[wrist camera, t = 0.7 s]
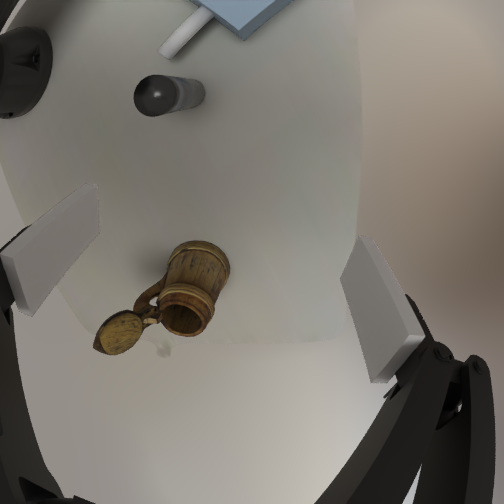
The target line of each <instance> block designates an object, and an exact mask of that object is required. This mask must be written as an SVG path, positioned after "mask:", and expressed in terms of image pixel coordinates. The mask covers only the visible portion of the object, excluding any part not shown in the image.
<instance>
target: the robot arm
mask: <svg viewBox="0 0 504 504" xmlns="http://www.w3.org/2000/svg"><path fill="white" fill-rule="evenodd" d="M18 1H19V0H0V32H1V30H2V28H3V26H4V25H5V23H6V21H7V19H8V18H9V16H10V14H11V13H12V11H13V9H14V8H15V6H16V4H17V3H18ZM51 66H52V47H51V43H50V40H49V38H48V36H47V34H46V33H45V32H44V31H43V30H41V29H40V28H36V27H20V28H17V29H14V30H12V31H9V32H6V33H4V34H2V35H0V118H2V119H11V118H15V117H18V116H21V115H24V114H26V113H27V112H28V111H30V110H31V109H32V108H33V107H34V106H35V105H36V103H37V102H38V101H39V99H40V97H41V96H42V94H43V92H44V90H45V88H46V85H47V82H48V79H49V76H50V71H51ZM99 233H100V228H99V209H98V185H94V184H87V183H85V184H84V185H83V186H81V187H80V188H78V189H77V190H76V191H74V192H73V193H71V194H70V195H69V196H67V197H66V198H65V199H63V200H62V201H61V202H59V203H58V204H57V205H56V206H54V207H53V208H52V209H50V210H49V211H48V212H47V213H45V214H44V215H43V216H42V217H40V218H39V219H38V220H37V221H36V222H34V223H33V224H31V225H29V226H27V227H25V228H24V229H22V230H21V231H20V232H19V233H18V234H17V235H16V236H15V237H13V238H12V239H11V241H9V242H8V243H7V244H5V245H4V246H3V247H2V248H1V249H0V504H95V503H92V502H90V501H87V500H85V499H82V498H80V497H78V496H75V495H74V497H73V499H72V498H64V496H63V494H62V492H61V490H60V487H59V486H58V484H57V482H56V481H55V479H54V477H53V476H52V475H51V473H50V472H49V471H48V469H47V467H46V465H45V463H44V460H43V458H42V455H41V452H40V449H39V446H38V443H37V440H36V437H35V434H34V430H33V427H32V424H31V421H30V416H29V413H28V409H27V405H26V400H25V396H24V391H23V387H22V381H21V376H20V370H19V365H18V358H17V350H16V342H15V333H14V322H13V312H12V309H11V305H12V303H13V302H14V301H15V302H16V305H17V307H18V310H19V312H21V313H24V314H26V315H28V316H31V317H33V316H34V314H35V313H36V311H37V310H38V309H39V307H40V306H41V304H42V303H43V302H44V300H45V299H46V297H47V296H48V295H49V294H50V292H51V291H52V290H53V288H54V287H55V286H56V285H57V283H58V282H59V281H60V279H61V278H62V277H63V276H64V274H65V273H66V272H67V271H68V269H69V268H70V267H71V266H72V265H73V263H74V262H75V261H76V260H77V259H78V257H79V256H80V255H81V254H82V253H83V252H84V250H85V249H86V248H87V247H88V246H89V245H90V243H91V242H92V241H93V240H94V239H95V238H96V237H97V236H98V234H99ZM340 281H341V284H342V287H343V290H344V293H345V296H346V299H347V302H348V305H349V308H350V311H351V315H352V318H353V321H354V324H355V327H356V331H357V334H358V338H359V341H360V345H361V348H362V352H363V355H364V359H365V363H366V366H367V369H368V373H369V378H370V381H371V383H388V381H389V380H390V379H391V378H392V377H393V376H394V375H396V378H397V381H398V382H397V383H396V384H395V385H394V386H393V387H392V388H391V389H390V390H389V391H388V392H387V393H386V394H385V396H384V398H386V397H387V396H388V397H387V399H386V401H385V402H384V404H383V406H382V408H381V409H380V411H379V413H378V415H377V416H376V418H375V420H374V421H373V423H372V425H371V426H370V428H369V430H368V431H367V433H366V434H365V436H364V437H363V439H362V441H361V442H360V444H359V445H358V447H357V448H356V450H355V451H354V453H353V454H352V455H351V457H350V458H349V460H348V461H347V463H346V464H345V465H344V467H343V468H342V469H341V471H340V472H339V474H338V475H337V476H336V477H335V479H334V480H333V481H332V483H331V484H330V485H329V487H328V488H327V489H326V490H325V491H324V493H323V494H322V495H321V496H320V498H319V499H318V500H317V501H316V502H315V503H314V504H402V503H403V501H404V499H405V497H406V495H407V493H408V492H409V489H410V487H411V485H412V484H413V481H414V479H415V477H416V475H417V473H418V471H419V469H420V466H421V464H422V466H421V471H420V476H419V480H418V485H417V489H416V493H415V497H414V500H413V504H492V497H493V488H494V475H495V416H494V404H493V393H492V385H491V377H490V371H489V368H488V366H487V364H486V362H485V361H484V360H483V359H482V358H480V357H479V356H477V355H470V357H469V358H468V359H467V360H466V361H465V362H461V361H458V360H455V359H454V356H453V354H452V352H451V351H450V349H449V348H448V347H447V346H445V345H444V344H442V343H440V342H436V341H434V339H433V337H432V335H431V333H430V331H429V329H428V327H427V325H426V323H425V321H424V320H423V317H422V315H421V313H419V309H418V307H417V306H416V304H415V302H414V301H413V300H412V299H411V298H410V297H409V296H408V295H407V294H404V292H403V291H402V289H401V287H400V285H399V283H398V281H397V280H396V278H395V276H394V274H393V272H392V271H391V269H390V267H389V266H388V264H387V262H386V260H385V259H384V257H383V255H382V254H381V252H380V250H379V249H378V247H377V246H376V244H375V242H374V240H373V239H372V238H370V237H366V236H361V235H359V236H358V238H357V241H356V243H355V246H354V248H353V250H352V253H351V255H350V257H349V260H348V262H347V264H346V267H345V269H344V271H343V273H342V276H341V278H340ZM461 404H462V407H461V410H460V411H459V412H458V406H460V405H461Z"/></svg>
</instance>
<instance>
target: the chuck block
mask: <svg viewBox="0 0 504 504" xmlns="http://www.w3.org/2000/svg"><path fill="white" fill-rule="evenodd" d="M190 1H191V2H193V3H194V4H196V5H197V6H199V8H198V9H197V10H196V11H195V12H194V13H193V14H192V15H191V16H189V17H188V18H187V19H186V20H185V21H184V22H183V23H182V24H181V25H180V26H179V27H178V28H177V29H176V30H175V31H174V33H173V34H172V35H171V36H170V37H169V38H168V39H167V40H166V41H165V42H164V43H163V44H162V45H161V47H160V48H159V49H158V50H157V51H158V52H159V53H160V54H161V55H163V56H164V57H166V58H167V59H169V60H171V59H172V58H173V57H174V56H175V54H176V53H177V52H178V51H179V50H180V49H181V48H182V47H183V46H184V45H185V44H186V43H187V42H188V41H189V40H190V39H191V38H192V37H193V36H194V35H195V34H196V33H197V32H198V31H199V30H200V29H201V28H202V27H203V26H204V25H205V24H206V23H207V22H208V21H209V20H211V19H212V18H213V17H214V18H215V19H217V20H218V21H219V22H221V23H222V24H223V25H224V26H226V27H227V28H228V29H230V30H231V31H232V32H233V33H235V34H236V35H237V36H238V37H240V38H241V39H242V40H243V41H244V40H245V39H246V38H247V37H249V36H250V35H251V34H252V33H253V32H254V31H256V30H257V29H258V28H259V27H260V26H261V25H263V24H264V23H265V22H266V21H268V20H269V19H270V18H271V17H273V16H274V15H275V14H276V13H278V12H279V11H280V10H281V9H283V8H284V7H285V6H287V5H288V4H289V3H291V2H292V1H293V0H190Z"/></svg>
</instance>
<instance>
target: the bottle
mask: <svg viewBox="0 0 504 504" xmlns="http://www.w3.org/2000/svg"><path fill="white" fill-rule="evenodd" d="M204 97H205V89H204V86H203V85H202V84H201V83H200V82H199V81H197V80H193V79H186V78H179V77H172V76H163V75H151V76H148V77H146V78H144V79H143V80H141V81H140V82H139V84H138V85H137V87H136V89H135V92H134V103H135V106H136V108H137V109H138V111H139V112H141V113H142V114H144V115H146V116H150V117H155V116H159V115H163V114H167V113H171V112H175V111H180V110H184V109H188V108H193V107H196V106H198V105H199V104H200V103H201V102H202V101H203V99H204Z"/></svg>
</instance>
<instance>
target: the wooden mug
mask: <svg viewBox="0 0 504 504" xmlns="http://www.w3.org/2000/svg"><path fill="white" fill-rule="evenodd" d="M229 274H230V265H229V262H228V259H227V258H226V256H225V254H224V253H223V252H222V251H221V250H220V249H219V248H218V247H216V246H215V245H213V244H211V243H208V242H204V241H191V242H187V243H184V244H181V245H180V246H178V247H177V248H176V249H174V251H173V253H172V255H171V256H170V259H169V261H168V265H167V273H166V274H165V275H164V277H163V278H162V279H161V280H160V281H159V282H157V283H156V284H154V285H153V286H152V287H150V288H149V289H147V290H146V291H145V292H143V293H142V294H141V295H140V296H139V298H138V299H137V300H136V302H135V304H134V308H133V311H131V310H123V311H120V312H118V313H115V314H114V315H112V316H110V317H109V318H108V319H106V321H105V322H104V323H103V324H102V325H101V327H100V328H99V330H98V332H97V333H96V337H95V340H94V343H93V348H94V349H95V350H97V351H99V352H101V353H104V354H107V355H118V354H121V353H124V352H125V351H127V350H128V349H130V348H131V347H132V346H134V344H135V343H136V342H137V341H138V339H139V338H140V336H141V334H142V333H143V331H144V329H145V328H146V327H148V326H150V325H151V324H153V323H156V324H158V323H160V322H161V323H162V324H163V325H164V327H165V328H166V329H167V330H168V331H170V332H172V333H174V334H176V335H179V336H185V337H193V336H196V335H198V334H200V333H201V332H203V330H204V329H205V328H206V326H207V324H208V323H209V322H210V321H211V319H212V317H213V315H214V311H215V307H214V305H215V303H216V301H217V298H218V296H219V294H220V291H221V290H222V288H223V287H224V286H225V284H226V282H227V279H228V277H229ZM155 297H158V299H157V301H156V304H157V306H152V305H150V304H149V302H150V300H152V299H153V298H155Z"/></svg>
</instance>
